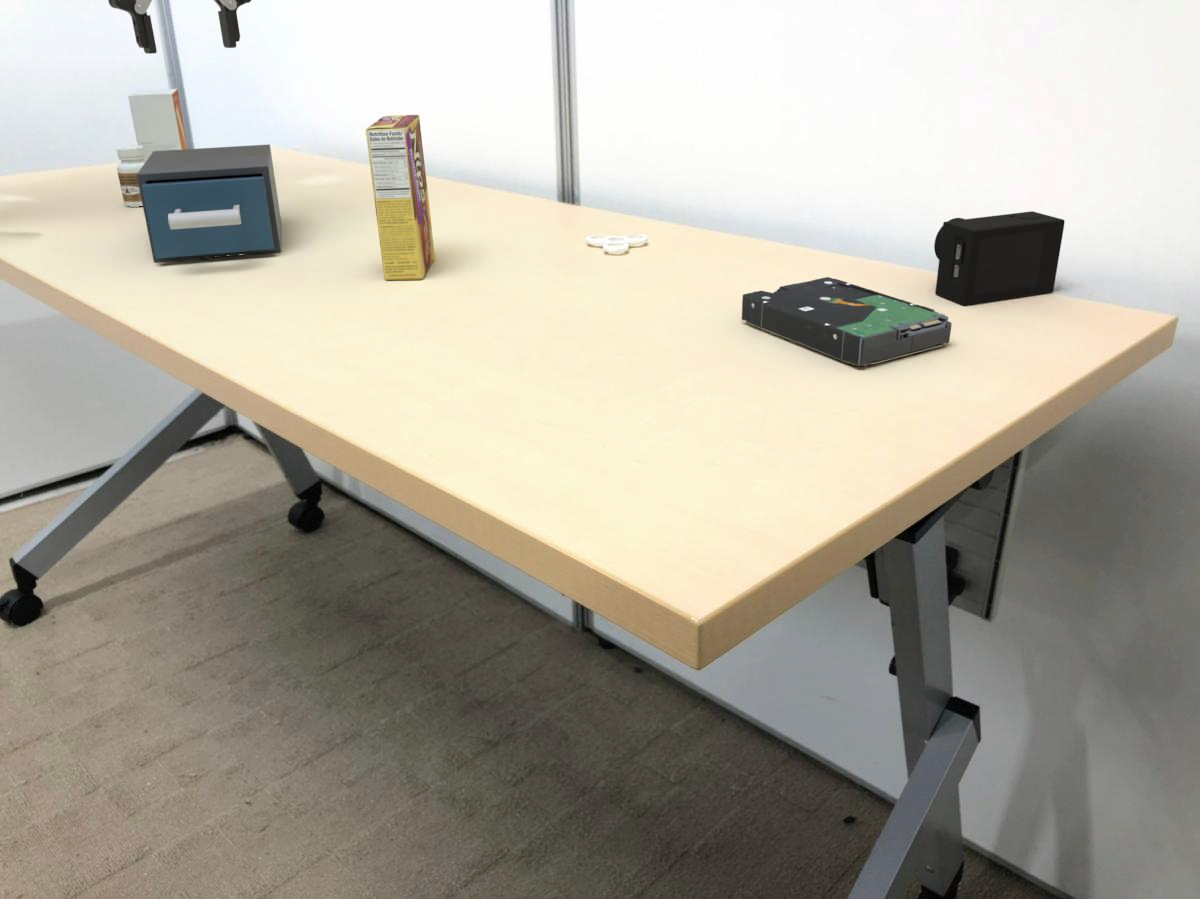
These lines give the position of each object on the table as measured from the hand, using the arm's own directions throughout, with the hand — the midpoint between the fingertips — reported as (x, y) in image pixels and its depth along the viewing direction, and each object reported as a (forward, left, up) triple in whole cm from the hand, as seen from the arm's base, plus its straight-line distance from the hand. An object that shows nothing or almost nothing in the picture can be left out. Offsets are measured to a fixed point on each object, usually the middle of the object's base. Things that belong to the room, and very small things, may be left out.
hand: (191, 50), depth 114 cm
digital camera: (+71, -44, -22) cm, 87 cm away
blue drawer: (-1, -2, -21) cm, 21 cm away
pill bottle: (-13, +31, -22) cm, 40 cm away
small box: (-11, +50, -22) cm, 55 cm away
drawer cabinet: (-1, +4, -22) cm, 22 cm away
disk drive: (+52, -51, -22) cm, 76 cm away
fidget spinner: (+43, -15, -22) cm, 51 cm away
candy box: (+19, -17, -22) cm, 34 cm away
